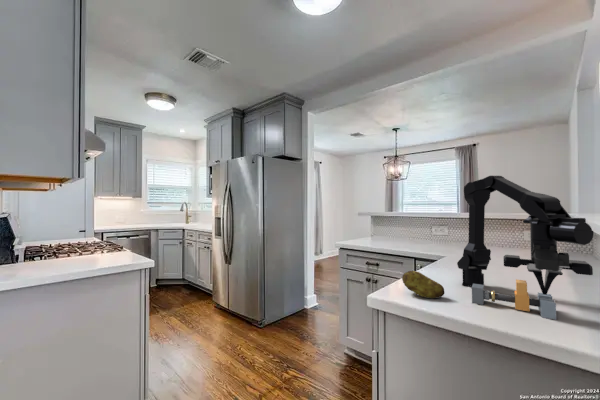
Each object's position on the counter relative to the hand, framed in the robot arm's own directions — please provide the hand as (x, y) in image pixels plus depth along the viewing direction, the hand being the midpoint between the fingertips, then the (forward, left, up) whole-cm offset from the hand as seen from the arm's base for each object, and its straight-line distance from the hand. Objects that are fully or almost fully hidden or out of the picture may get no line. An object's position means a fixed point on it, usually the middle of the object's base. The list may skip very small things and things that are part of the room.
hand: (544, 293), depth 79 cm
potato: (-32, -4, -6) cm, 33 cm away
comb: (0, 0, -5) cm, 5 cm away
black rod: (-8, 0, -4) cm, 9 cm away
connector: (-16, 0, -5) cm, 17 cm away
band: (-12, 0, -5) cm, 13 cm away
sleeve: (-5, 0, -5) cm, 7 cm away
